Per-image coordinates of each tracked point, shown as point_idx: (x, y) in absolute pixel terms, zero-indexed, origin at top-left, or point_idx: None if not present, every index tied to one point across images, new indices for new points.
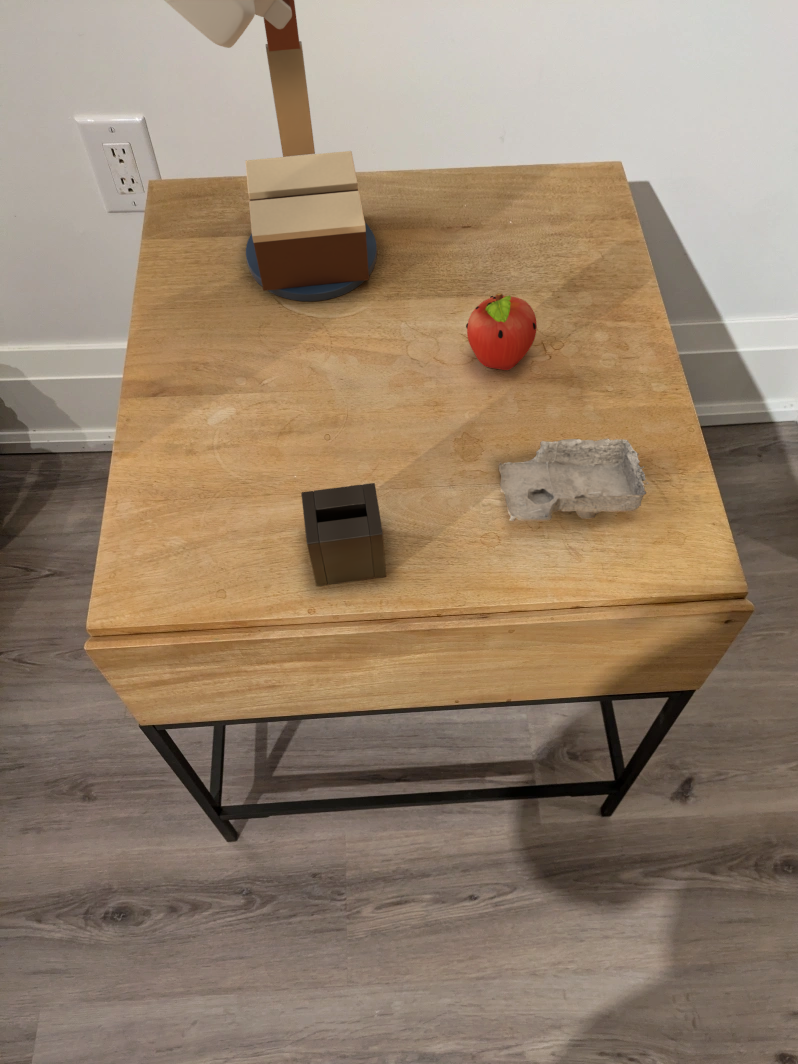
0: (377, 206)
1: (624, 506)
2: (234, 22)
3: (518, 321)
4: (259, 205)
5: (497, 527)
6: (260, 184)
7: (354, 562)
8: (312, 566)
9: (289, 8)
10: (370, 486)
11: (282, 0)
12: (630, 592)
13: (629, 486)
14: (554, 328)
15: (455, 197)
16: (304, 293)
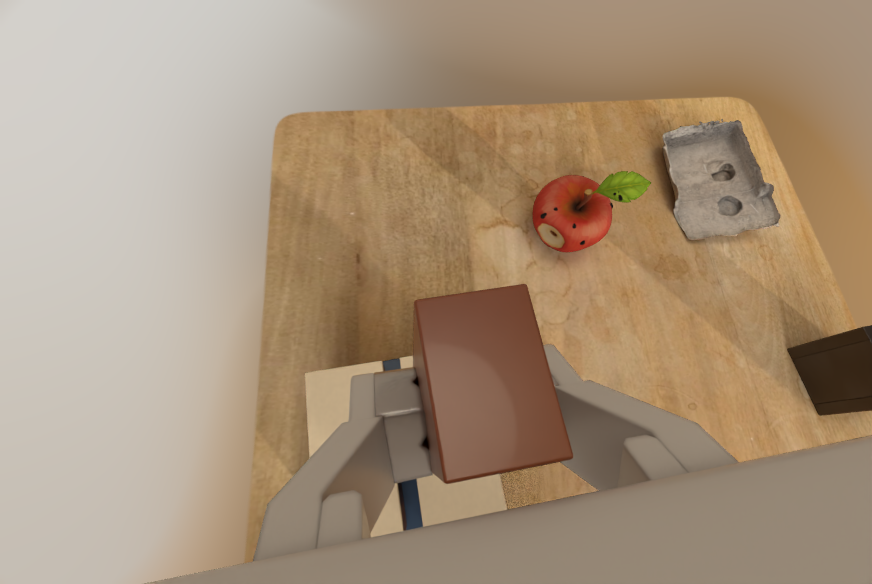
0: (312, 362)
1: (737, 141)
2: None
3: (598, 185)
4: (435, 517)
5: (751, 246)
6: (383, 522)
7: None
8: None
9: (550, 347)
10: (870, 330)
11: (549, 365)
12: (779, 158)
13: (694, 143)
14: (509, 185)
15: (303, 268)
16: None
